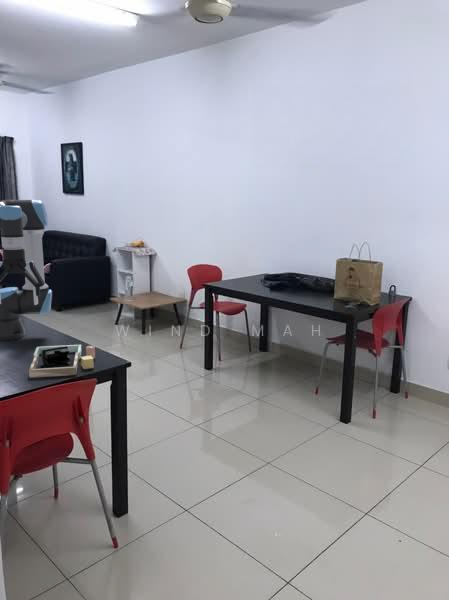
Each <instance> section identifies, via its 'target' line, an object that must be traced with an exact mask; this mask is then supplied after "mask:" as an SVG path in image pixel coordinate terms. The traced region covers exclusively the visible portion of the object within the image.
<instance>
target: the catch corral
mask: <svg viewBox="0 0 449 600" xmlns="http://www.w3.org/2000/svg"><path fill="white" fill-rule="evenodd" d="M63 346H67V347H68V351H69V352H70V353H78V358H79V360H81V357H82V351H83V350H82V344H69V345H46V346H37V347H35V351H34V353H33V358H34V357H35V355H38V358H39V357H40V355H41V352H42V350H45V349H51V348H57V347H63Z"/></svg>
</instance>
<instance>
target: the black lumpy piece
mask: <svg viewBox="0 0 449 600" xmlns="http://www.w3.org/2000/svg"><path fill="white" fill-rule="evenodd" d="M62 346H63V345H62ZM70 354H71V352H69V351H68V347H67V346H63V347H57V348H51V349H45V350H42V352H41V354H40V355H41V361H42V364H43V365H44V366H45V368H59V367H66V366H68V365H70V363H71V362H70V361H71V358H70Z"/></svg>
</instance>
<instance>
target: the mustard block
mask: <svg viewBox="0 0 449 600" xmlns="http://www.w3.org/2000/svg"><path fill="white" fill-rule="evenodd" d="M80 363H81V364H80V365H81V368H82V369H83V370H88V369H94V365H95V363H94V359H93V357H92V356H86V355H84V356H81V358H80Z"/></svg>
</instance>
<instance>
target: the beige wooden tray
mask: <svg viewBox="0 0 449 600" xmlns="http://www.w3.org/2000/svg"><path fill="white" fill-rule="evenodd" d="M79 361H80V359H79V358H78V352H75V356H74V360H73V366H60V367H54V368H47V367H44V368H37V366H38V364H39V357H38V355H35V357H34V356H33V360H32V362H31V364H30V367H29V369H28V374H29V379H31V378H32V379H33V378H45V377H46V378H47V377H48V378H51V377H62V376H63V377H65V376H75V375H77V373H78V371H77V370H78V366H79Z"/></svg>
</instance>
